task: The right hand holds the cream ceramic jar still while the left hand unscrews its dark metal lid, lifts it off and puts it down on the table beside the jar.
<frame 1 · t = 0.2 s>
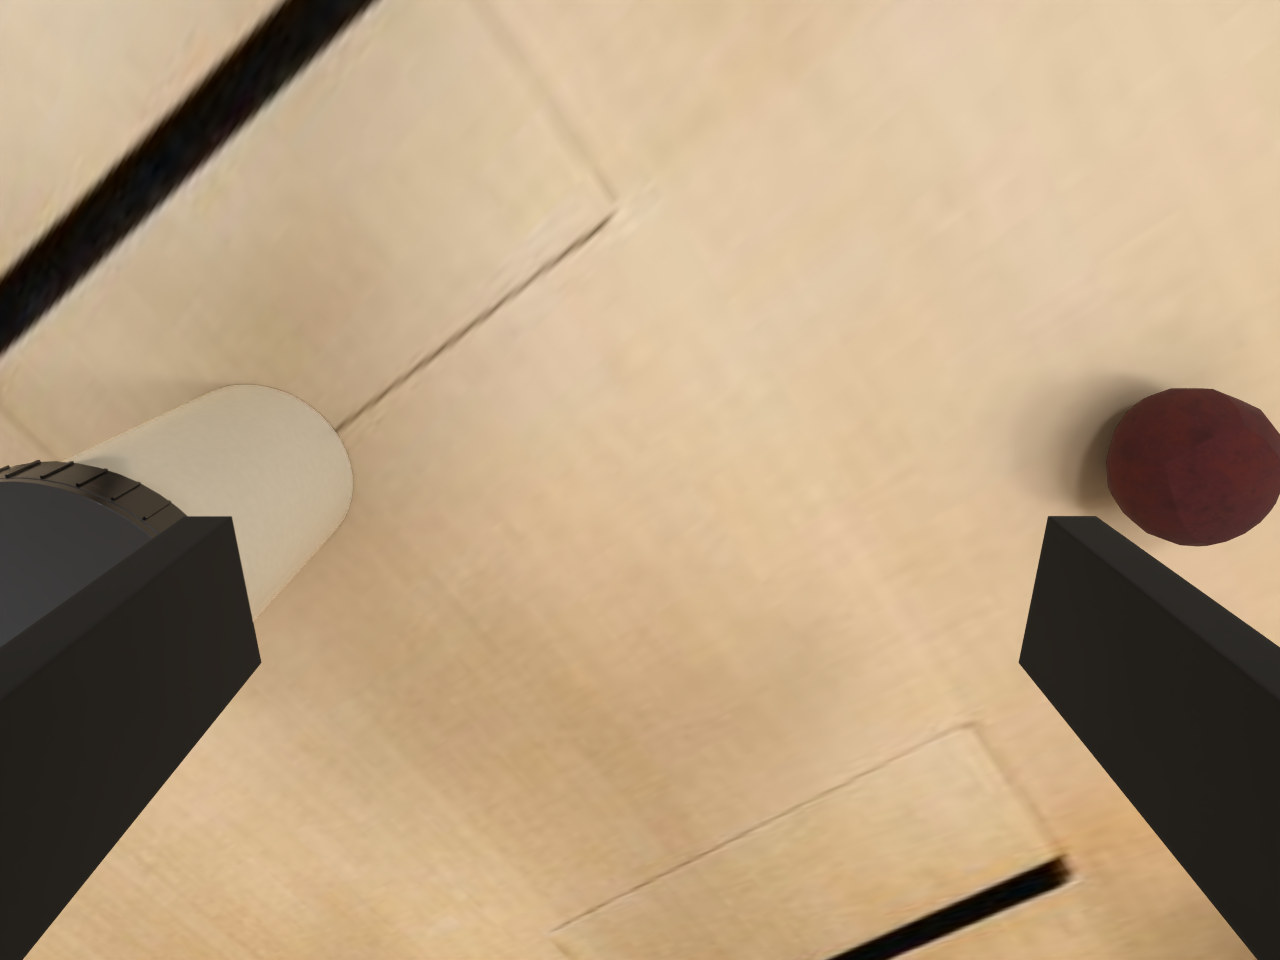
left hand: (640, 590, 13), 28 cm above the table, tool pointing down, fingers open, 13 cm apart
jar: (262, 472, 42), on the table
lid: (59, 623, 27), point 16 cm above the table, screwed on, not yet turned
dark red sphere: (1145, 441, 41), on the table
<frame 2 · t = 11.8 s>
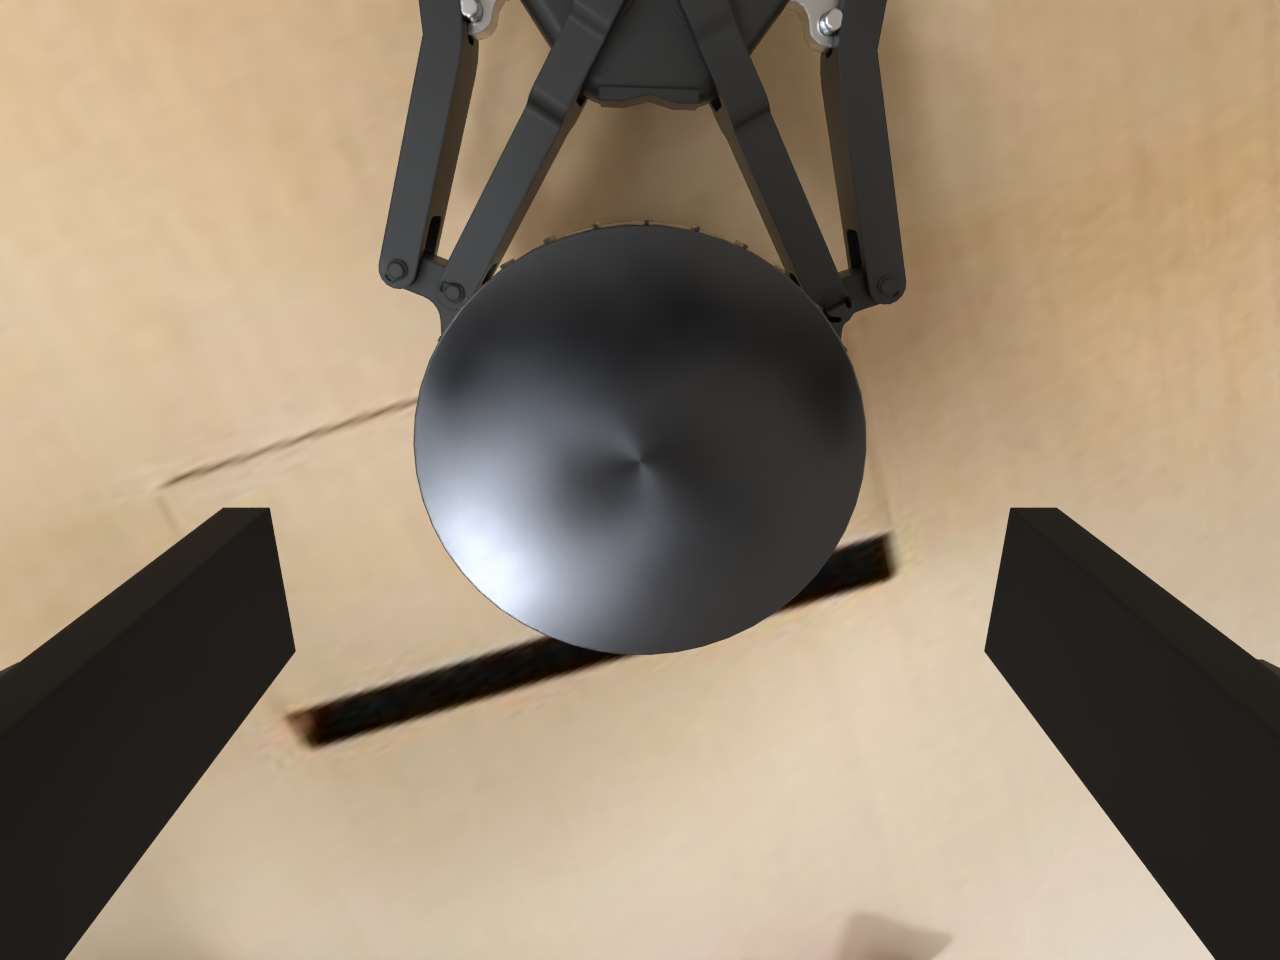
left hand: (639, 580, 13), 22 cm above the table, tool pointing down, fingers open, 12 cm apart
right hand: (636, 488, 29), fingers closed on jar, 10 cm apart
lid: (640, 457, 19), point 16 cm above the table, screwed on, not yet turned
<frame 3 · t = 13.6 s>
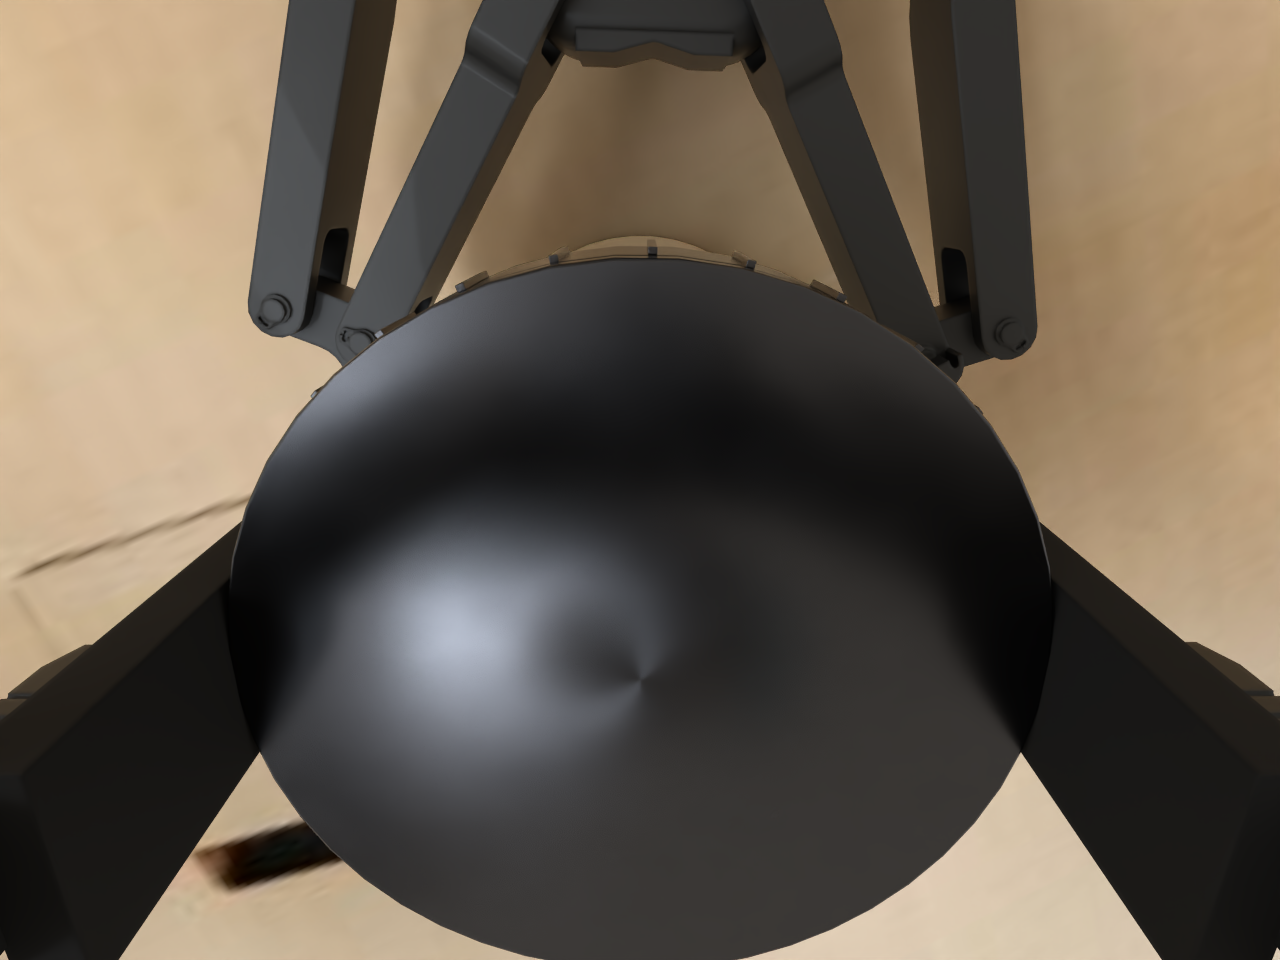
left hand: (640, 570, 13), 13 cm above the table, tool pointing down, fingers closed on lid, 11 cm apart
jar: (639, 392, 25), on the table, touching right hand
lid: (640, 665, 11), point 16 cm above the table, screwed on, not yet turned, touching left hand
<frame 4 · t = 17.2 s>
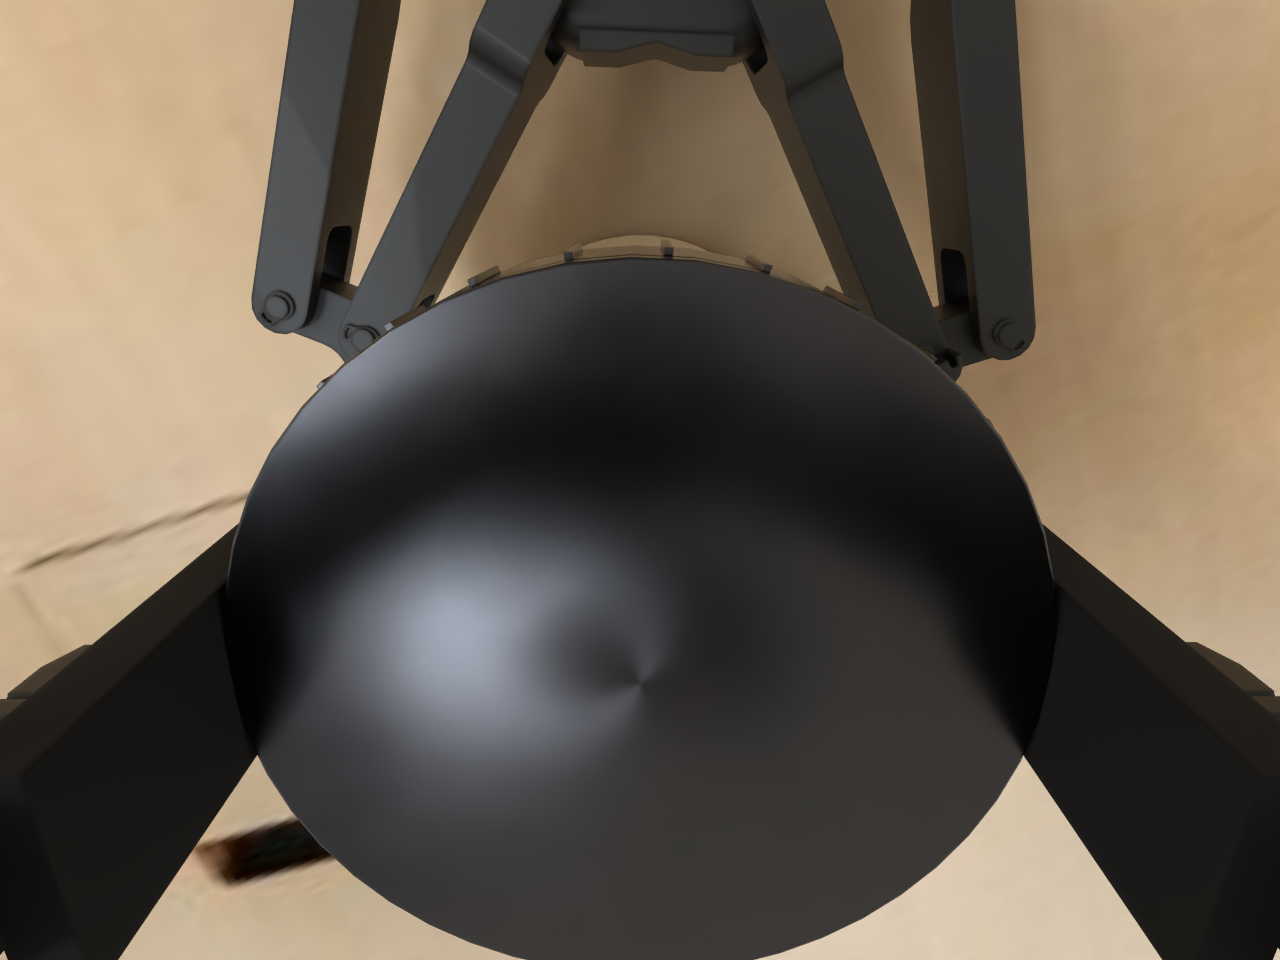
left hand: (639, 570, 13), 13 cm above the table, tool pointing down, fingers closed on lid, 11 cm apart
jar: (640, 391, 25), on the table, touching right hand
lid: (640, 667, 11), point 16 cm above the table, turned 118° so far, risen 0.2 cm, still on its thread, touching left hand
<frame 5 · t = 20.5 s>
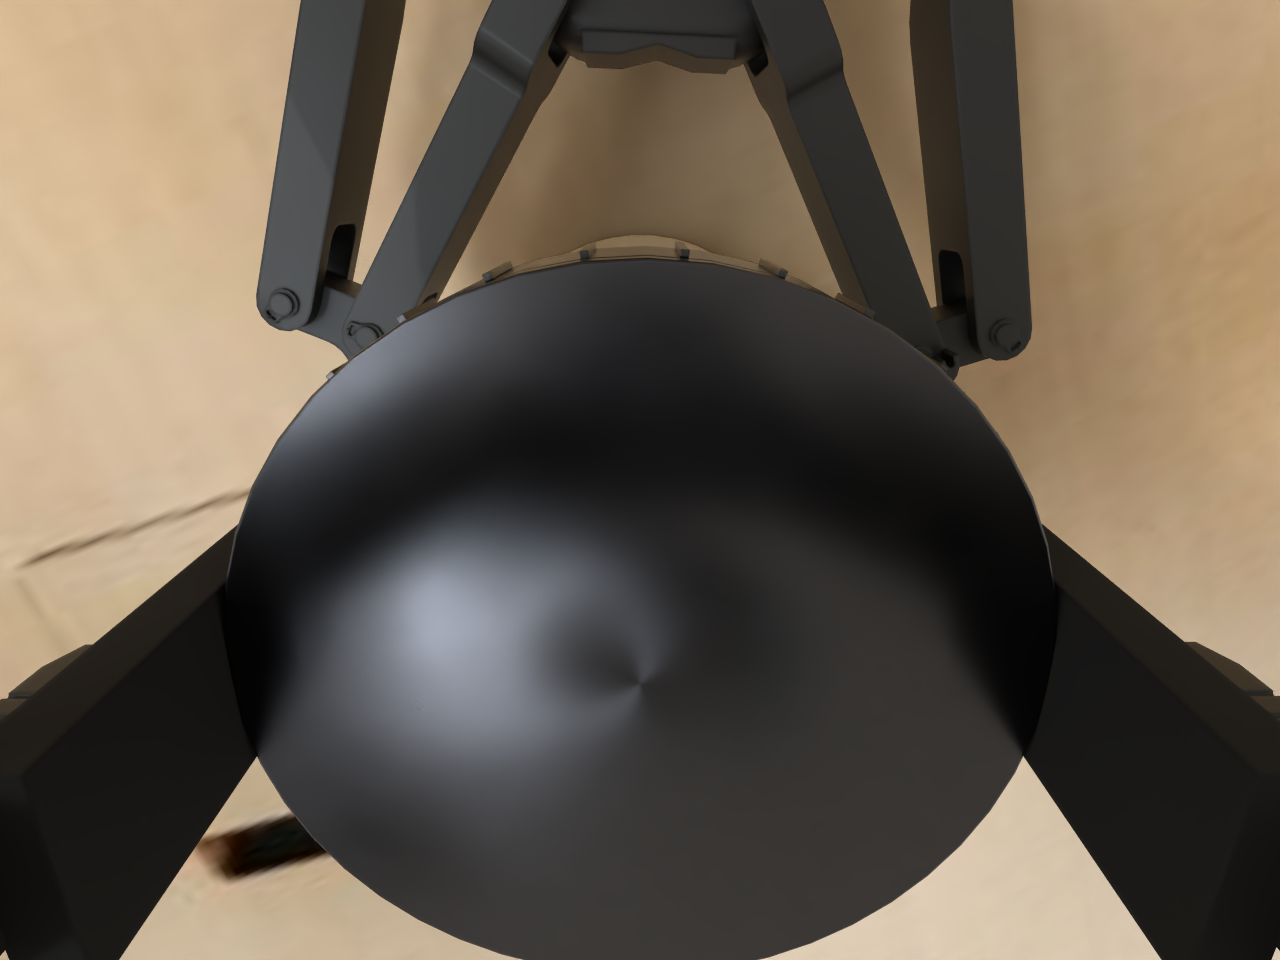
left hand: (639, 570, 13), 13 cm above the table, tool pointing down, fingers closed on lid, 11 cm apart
jar: (640, 389, 26), on the table, touching right hand
lid: (640, 668, 11), point 16 cm above the table, turned 237° so far, risen 0.4 cm, still on its thread, touching left hand
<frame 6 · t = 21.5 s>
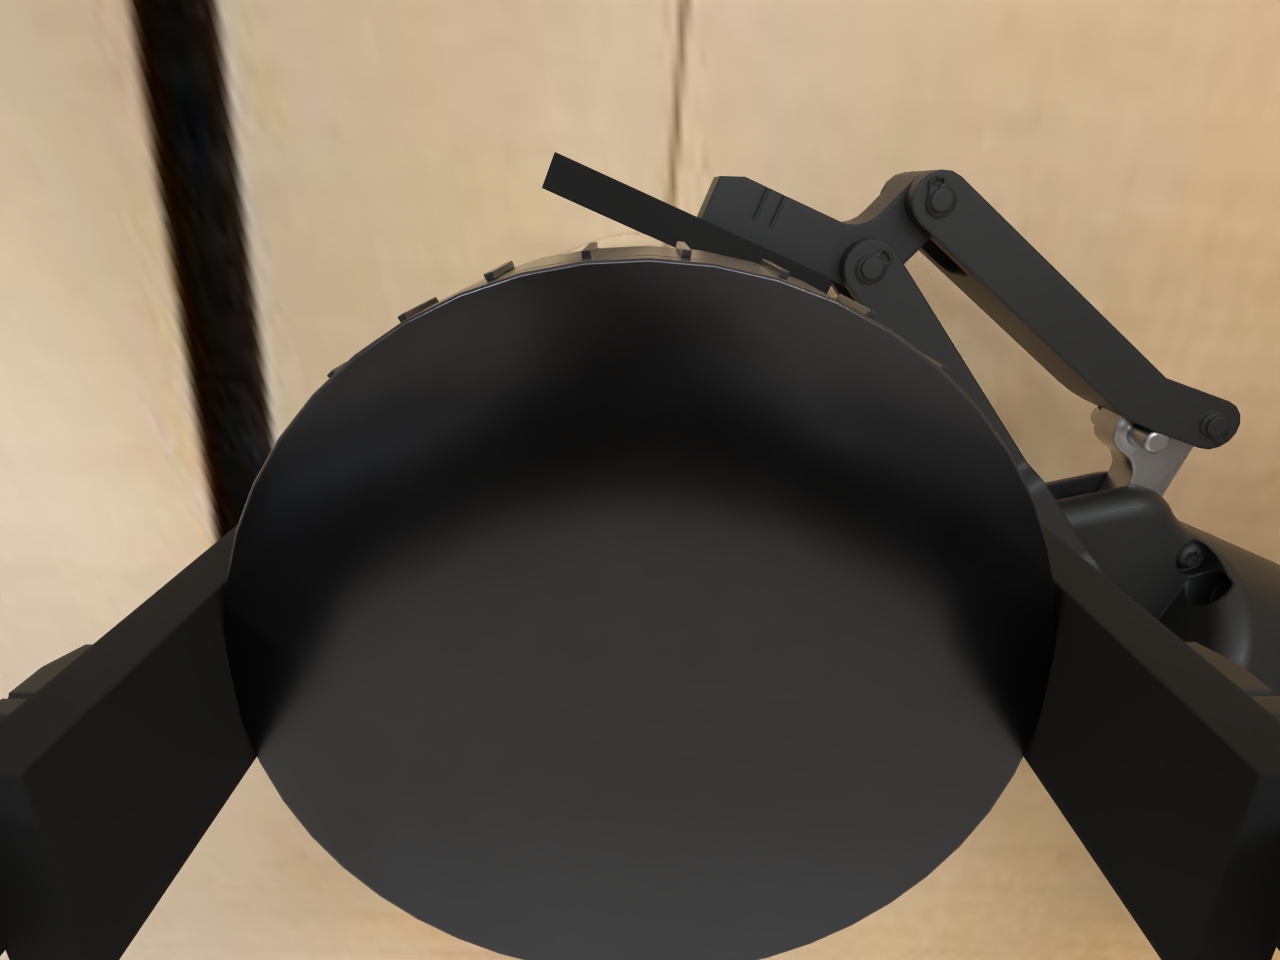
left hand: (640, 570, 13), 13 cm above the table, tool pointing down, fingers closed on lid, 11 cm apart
jar: (640, 388, 26), on the table, touching right hand
lid: (640, 668, 11), point 16 cm above the table, off its thread, touching left hand
when the left hand's fingers open (0 cm above the table, at t = 27.6 s): lid drops 1 cm, point 2 cm above the table.
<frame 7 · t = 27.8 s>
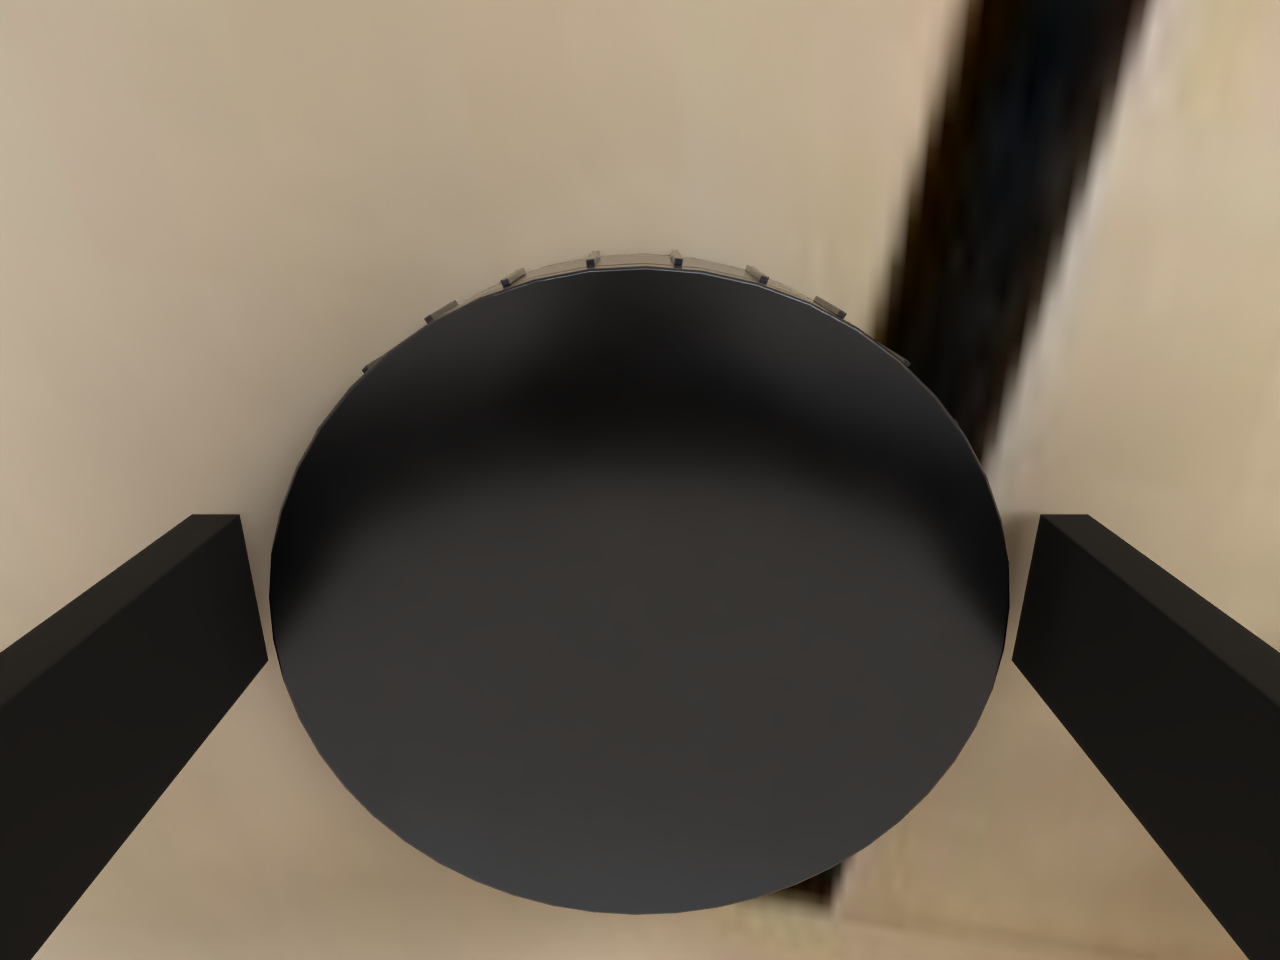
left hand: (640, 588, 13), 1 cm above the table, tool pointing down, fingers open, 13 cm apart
lid: (639, 632, 12), point 2 cm above the table, off its thread
when the right hand's fingers open (7 cm above the table, at t = 28.6 s): jar stays where it is, on the table.
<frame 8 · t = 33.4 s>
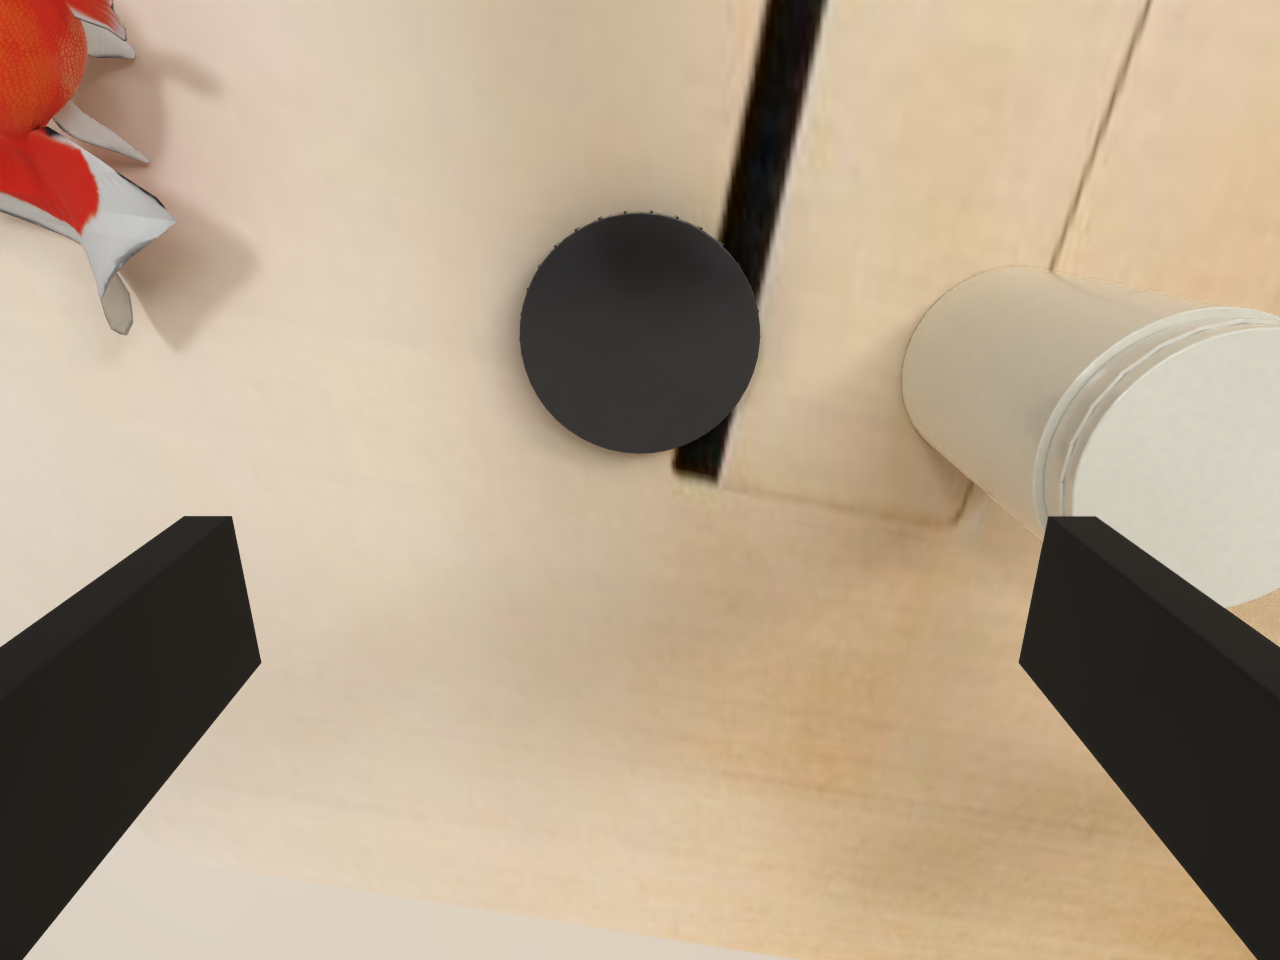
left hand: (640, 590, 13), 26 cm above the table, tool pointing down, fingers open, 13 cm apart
fish: (117, 146, 34), on the table
jar: (1002, 369, 38), on the table
lid: (639, 338, 35), point 2 cm above the table, off its thread
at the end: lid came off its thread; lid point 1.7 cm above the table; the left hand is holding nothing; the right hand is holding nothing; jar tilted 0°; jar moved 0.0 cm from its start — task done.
